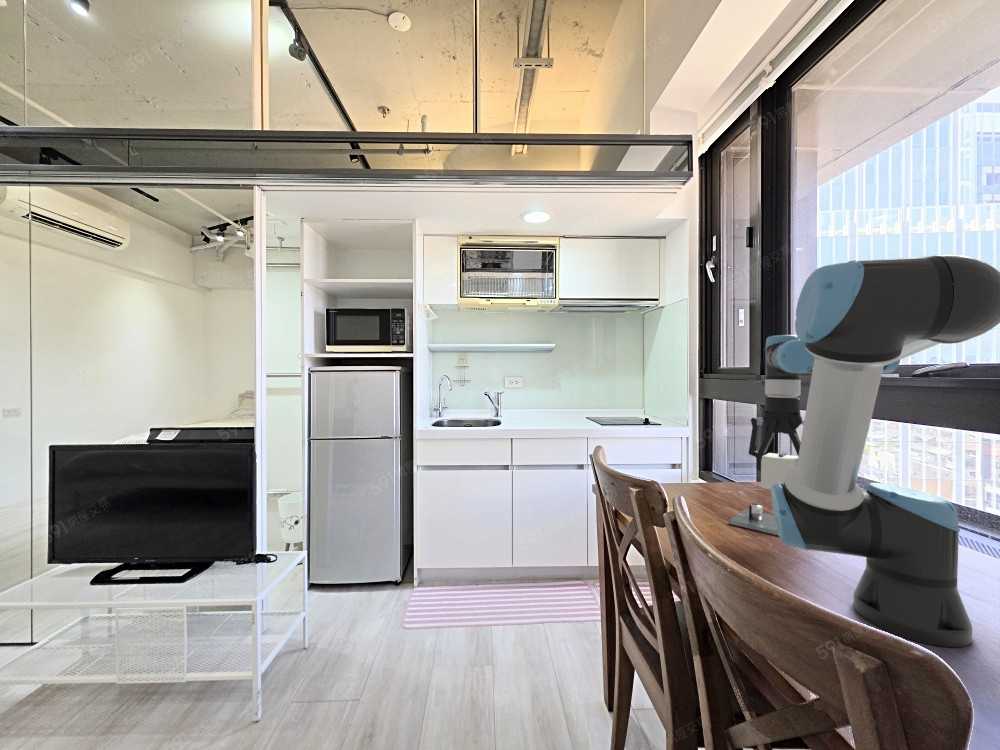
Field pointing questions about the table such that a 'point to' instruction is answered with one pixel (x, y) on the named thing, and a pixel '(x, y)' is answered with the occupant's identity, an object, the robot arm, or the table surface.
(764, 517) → the hub plate
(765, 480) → the block
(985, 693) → the table surface
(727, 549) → the table surface
